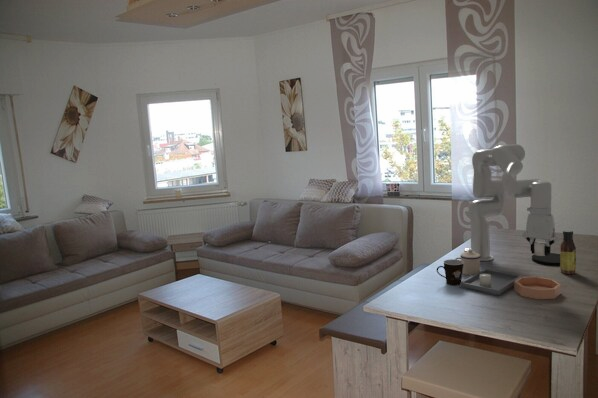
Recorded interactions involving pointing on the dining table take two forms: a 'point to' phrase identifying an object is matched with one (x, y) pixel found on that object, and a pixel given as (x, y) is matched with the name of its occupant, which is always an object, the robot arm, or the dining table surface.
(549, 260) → the wireless charger
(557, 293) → the bowl
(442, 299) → the dining table surface
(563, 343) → the dining table surface
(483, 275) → the pebble
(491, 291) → the parts tray
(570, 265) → the sauce bottle
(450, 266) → the coffee mug
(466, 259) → the teacup with lid
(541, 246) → the pebble
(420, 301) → the dining table surface
